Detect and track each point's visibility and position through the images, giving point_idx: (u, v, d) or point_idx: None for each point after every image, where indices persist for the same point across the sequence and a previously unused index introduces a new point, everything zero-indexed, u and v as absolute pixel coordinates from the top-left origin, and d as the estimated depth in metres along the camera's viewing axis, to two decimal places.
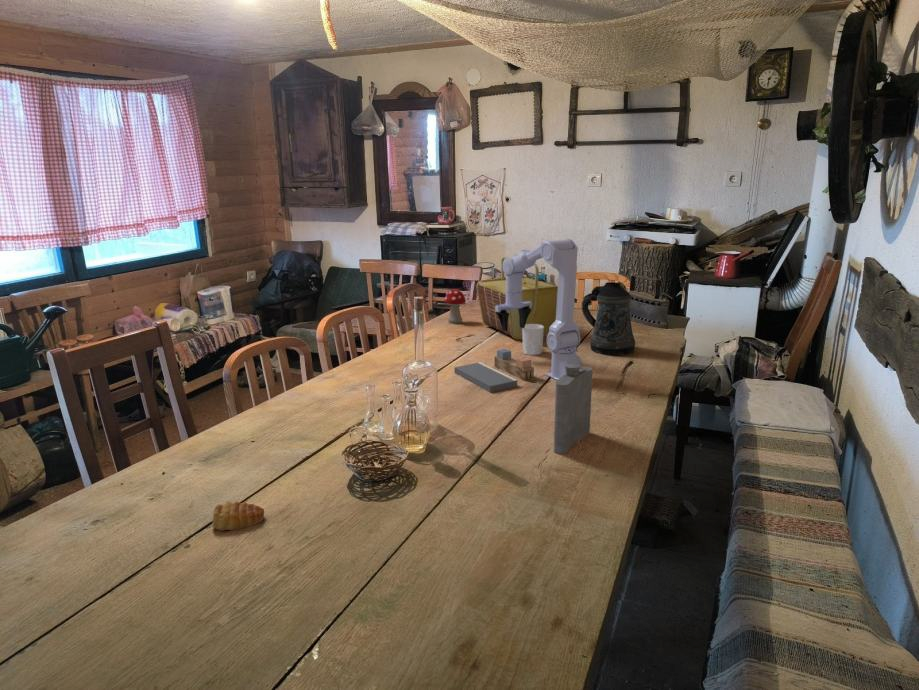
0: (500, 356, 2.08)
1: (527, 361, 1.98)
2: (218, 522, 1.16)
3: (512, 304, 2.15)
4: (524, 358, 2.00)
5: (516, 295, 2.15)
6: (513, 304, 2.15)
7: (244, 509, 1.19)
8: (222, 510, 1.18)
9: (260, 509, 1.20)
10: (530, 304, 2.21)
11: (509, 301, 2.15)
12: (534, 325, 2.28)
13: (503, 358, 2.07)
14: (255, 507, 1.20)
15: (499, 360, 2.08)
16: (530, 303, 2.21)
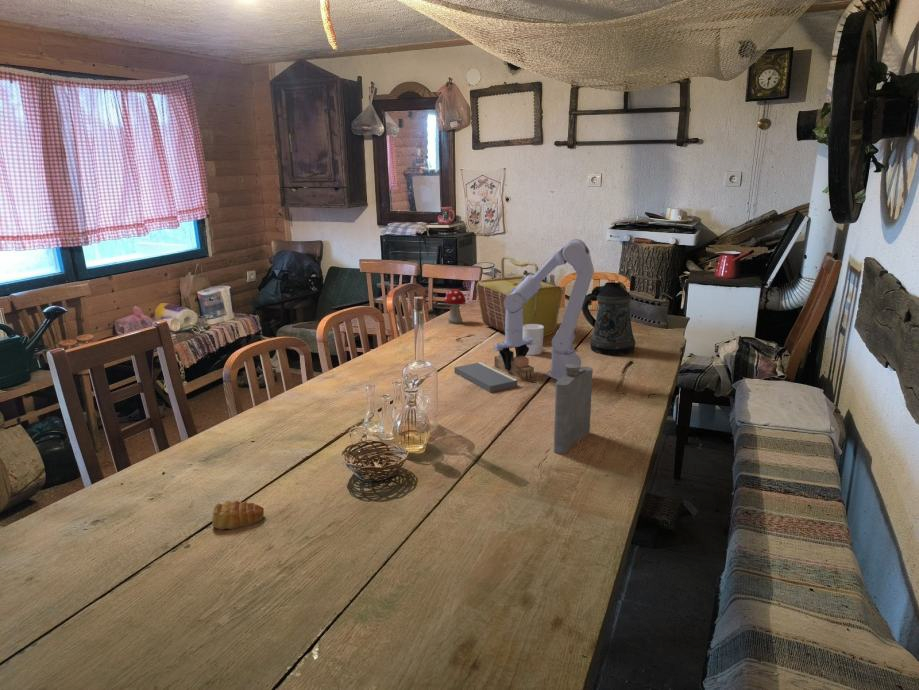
0: None
1: (524, 360, 1.99)
2: (218, 521, 1.17)
3: (512, 342, 2.00)
4: (521, 356, 2.01)
5: (516, 333, 1.99)
6: (513, 342, 1.99)
7: (244, 508, 1.19)
8: (222, 509, 1.18)
9: (260, 508, 1.21)
10: (531, 341, 2.05)
11: (509, 339, 2.00)
12: (534, 325, 2.28)
13: None
14: (255, 506, 1.21)
15: (499, 360, 2.08)
16: (531, 340, 2.05)
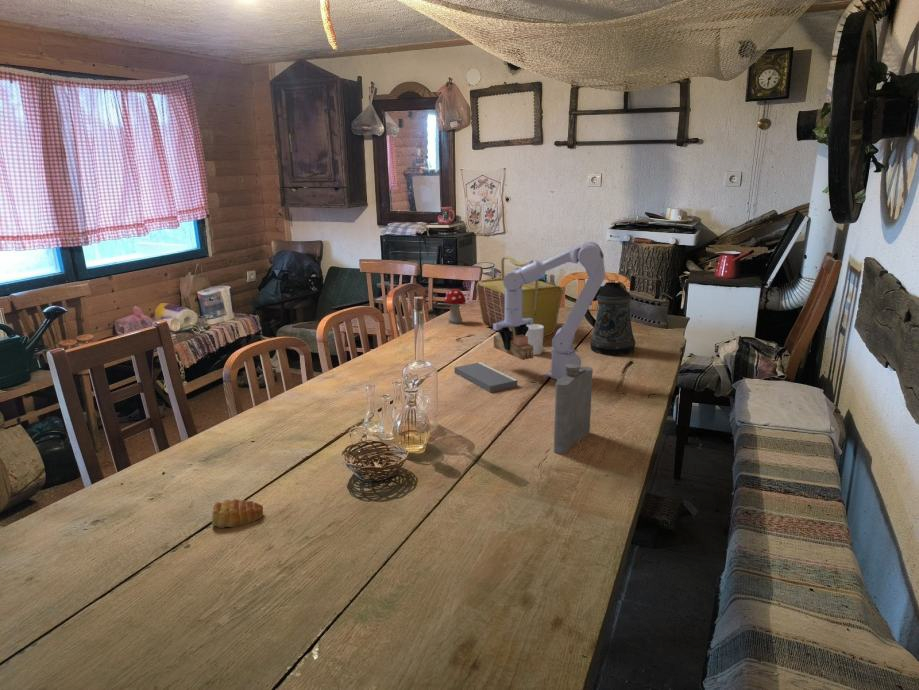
0: None
1: (524, 338, 1.97)
2: (218, 520, 1.17)
3: (511, 322, 1.97)
4: (521, 335, 1.99)
5: (516, 312, 1.97)
6: (513, 322, 1.97)
7: (243, 506, 1.20)
8: (221, 508, 1.19)
9: (259, 506, 1.22)
10: (531, 321, 2.03)
11: (508, 318, 1.98)
12: (534, 325, 2.28)
13: None
14: (254, 504, 1.21)
15: (498, 339, 2.06)
16: (531, 320, 2.03)
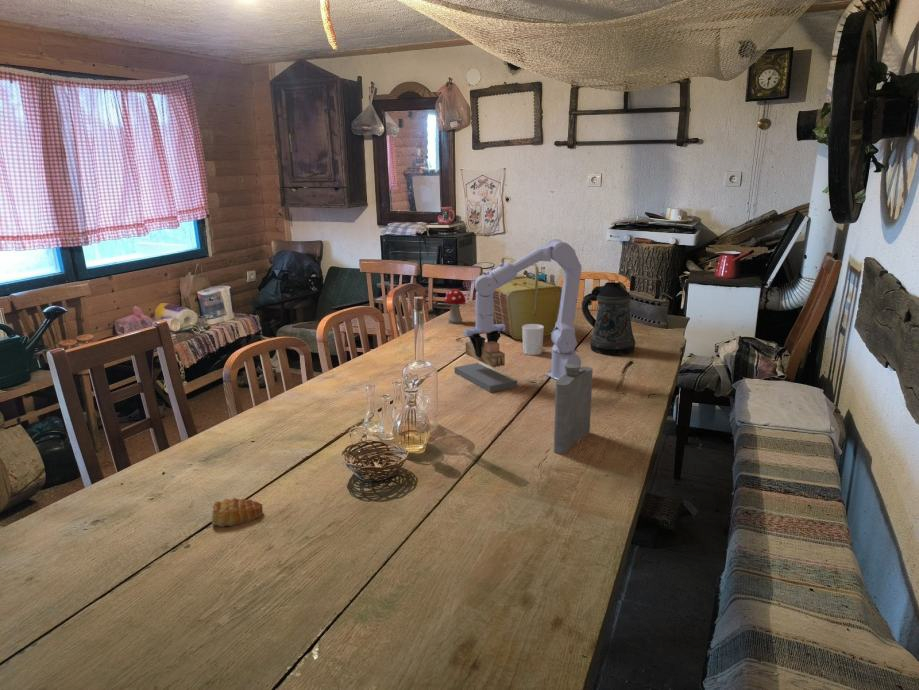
0: None
1: (495, 345, 1.90)
2: (218, 518, 1.18)
3: (482, 328, 1.91)
4: (492, 342, 1.93)
5: (487, 318, 1.90)
6: (483, 328, 1.91)
7: (243, 505, 1.20)
8: (221, 507, 1.19)
9: (259, 504, 1.22)
10: (503, 327, 1.96)
11: (479, 324, 1.91)
12: (534, 325, 2.28)
13: None
14: (254, 502, 1.22)
15: (470, 346, 1.99)
16: (503, 326, 1.96)
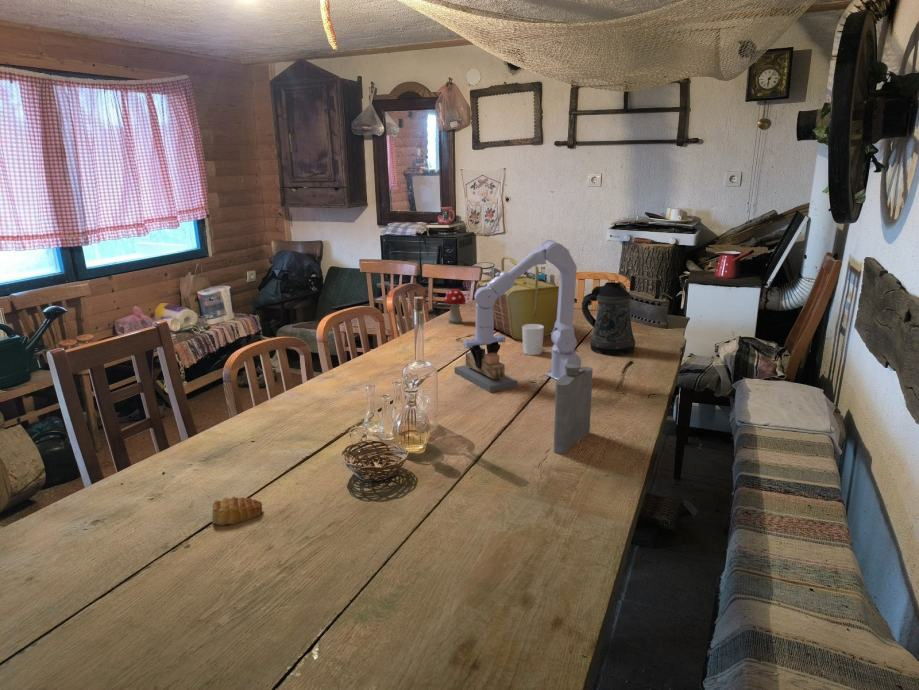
0: None
1: (495, 357, 1.91)
2: (218, 517, 1.18)
3: (482, 340, 1.92)
4: (492, 353, 1.94)
5: (487, 330, 1.91)
6: (483, 340, 1.92)
7: (243, 503, 1.21)
8: (221, 505, 1.20)
9: (258, 502, 1.23)
10: (503, 339, 1.97)
11: (479, 336, 1.92)
12: (534, 325, 2.28)
13: None
14: (253, 501, 1.23)
15: (470, 357, 2.01)
16: (503, 337, 1.97)
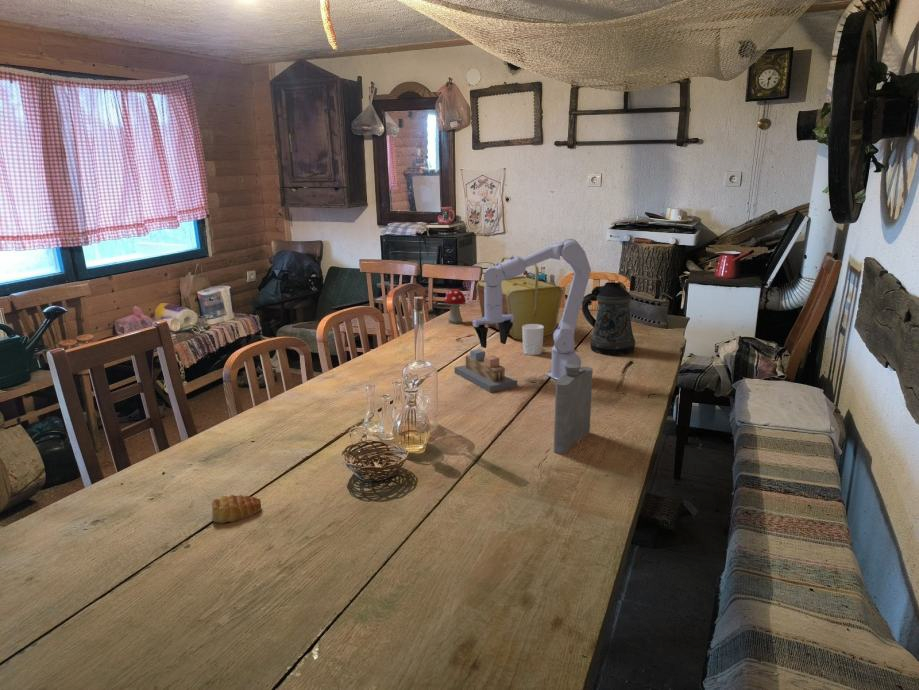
0: (474, 357, 1.99)
1: (495, 359, 1.92)
2: (219, 515, 1.19)
3: (491, 318, 1.95)
4: (492, 356, 1.94)
5: (496, 308, 1.94)
6: (492, 318, 1.94)
7: (242, 500, 1.22)
8: (220, 503, 1.20)
9: (257, 499, 1.24)
10: (512, 317, 2.00)
11: (488, 314, 1.95)
12: (534, 325, 2.28)
13: (477, 359, 1.98)
14: (252, 498, 1.24)
15: (470, 360, 2.01)
16: (511, 316, 2.00)
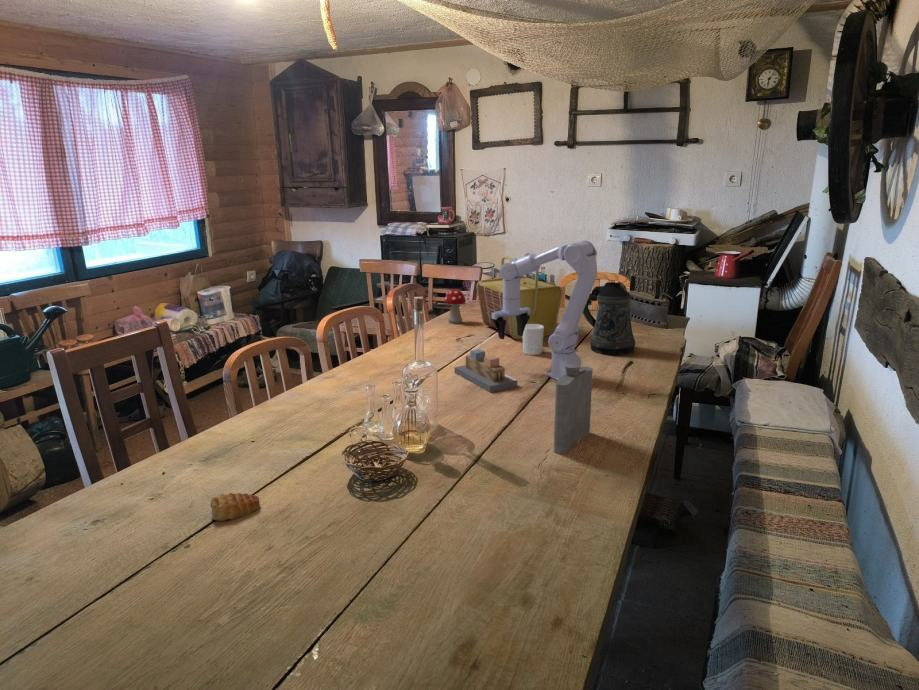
0: (474, 357, 1.99)
1: (495, 359, 1.92)
2: (219, 513, 1.20)
3: (509, 311, 2.04)
4: (492, 356, 1.94)
5: (514, 301, 2.03)
6: (510, 311, 2.03)
7: (241, 498, 1.23)
8: (220, 501, 1.21)
9: (255, 497, 1.25)
10: (528, 311, 2.09)
11: (506, 307, 2.04)
12: (534, 325, 2.28)
13: (477, 359, 1.98)
14: (250, 495, 1.25)
15: (470, 360, 2.01)
16: (528, 310, 2.09)
